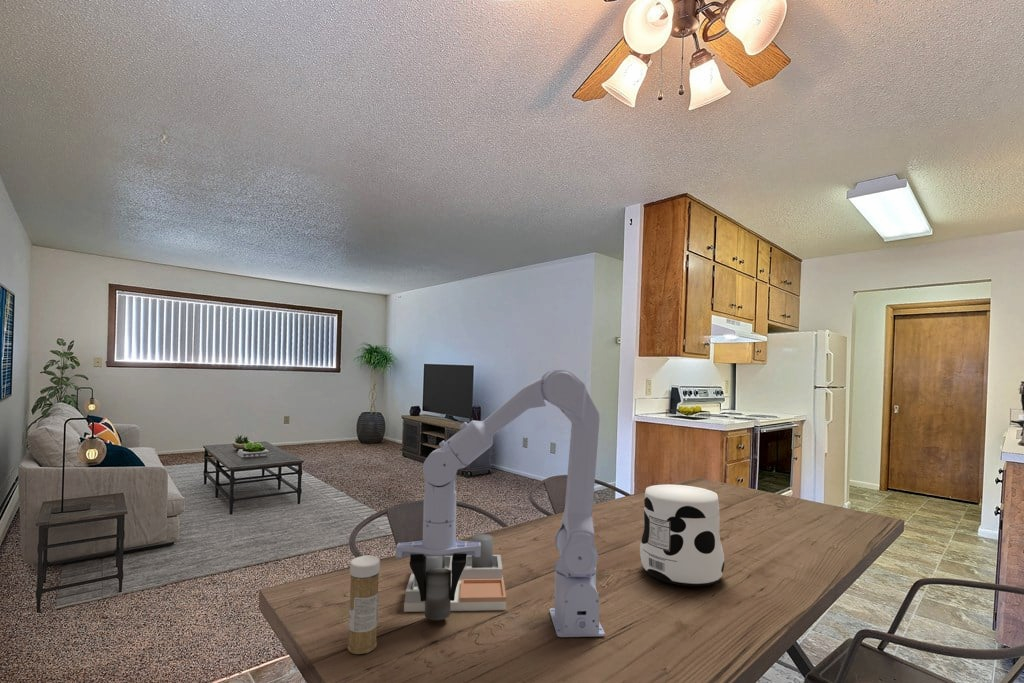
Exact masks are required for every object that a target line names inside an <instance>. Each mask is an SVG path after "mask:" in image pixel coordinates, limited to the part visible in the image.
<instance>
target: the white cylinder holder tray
mask: <svg viewBox="0 0 1024 683" xmlns="http://www.w3.org/2000/svg"><path fill="white" fill-rule="evenodd" d="M471 542H481V556H480V557H474V556H467V557H466V565H465V567H464V569H463V571H462V573H461V576H460V578H459V581H458V584H457V587H456V591H455V598H454V601H451V603H450V612H466V611H467V612H468V611H469V612H470V611H471V612H472V611H473V612H474V611H475V612H477V611H507V593H506V586H505V580H504V577H503V564H502V563H503V562H502V556H501V554H494V536H492V535H491V534H486V533H484V534H483V533H482V534H480V533H479V534H474V535H473V536H472V537H471ZM452 557H453V556H426V572H427V571H428V570H430V569H434V568H446V569H449V570H450V571H451V583H452ZM404 596H405V599H404V602H403V613H408V612H409V613H411V612H417V613H418V612H425V601H421V598H420V592H419V587H418V584H417V581H416V578H415V576H414V573H413V571H412V570H411V573H410V576H409V579H408V583H407V586H406V589H405V595H404Z"/></svg>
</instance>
